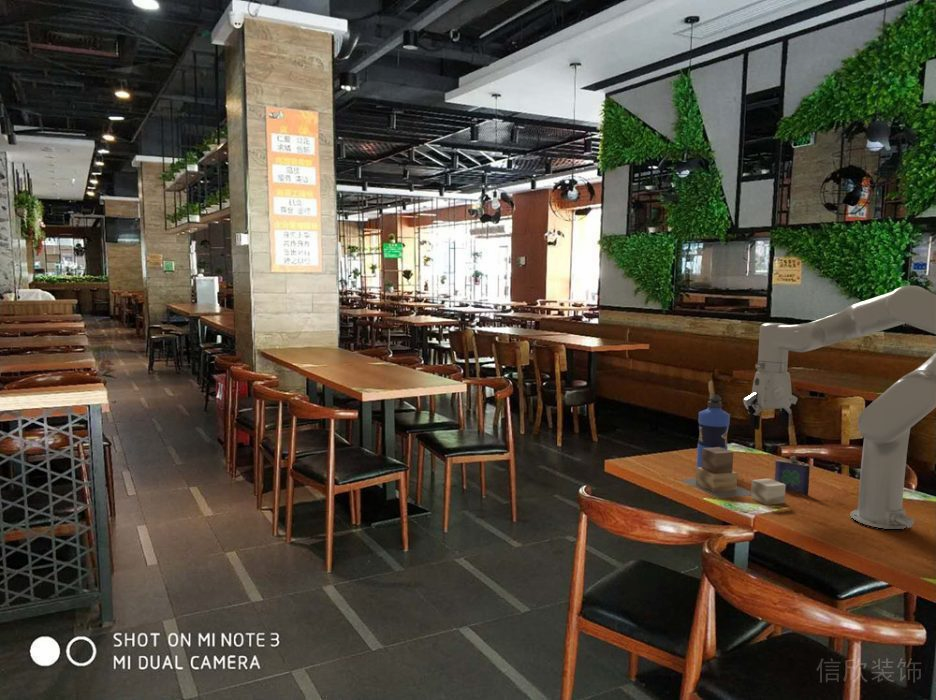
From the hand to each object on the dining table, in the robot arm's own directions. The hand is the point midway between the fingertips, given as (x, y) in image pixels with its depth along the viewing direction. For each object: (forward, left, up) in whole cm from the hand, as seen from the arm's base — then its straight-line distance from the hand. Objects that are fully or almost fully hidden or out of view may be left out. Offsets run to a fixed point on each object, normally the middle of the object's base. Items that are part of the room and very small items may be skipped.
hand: (769, 427), depth 187 cm
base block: (+10, +9, -19) cm, 23 cm away
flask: (+2, -11, -20) cm, 23 cm away
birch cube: (-4, +3, -20) cm, 21 cm away
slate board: (+10, +8, -20) cm, 24 cm away
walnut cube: (+10, +9, -14) cm, 19 cm away
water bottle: (+26, -2, -20) cm, 33 cm away
